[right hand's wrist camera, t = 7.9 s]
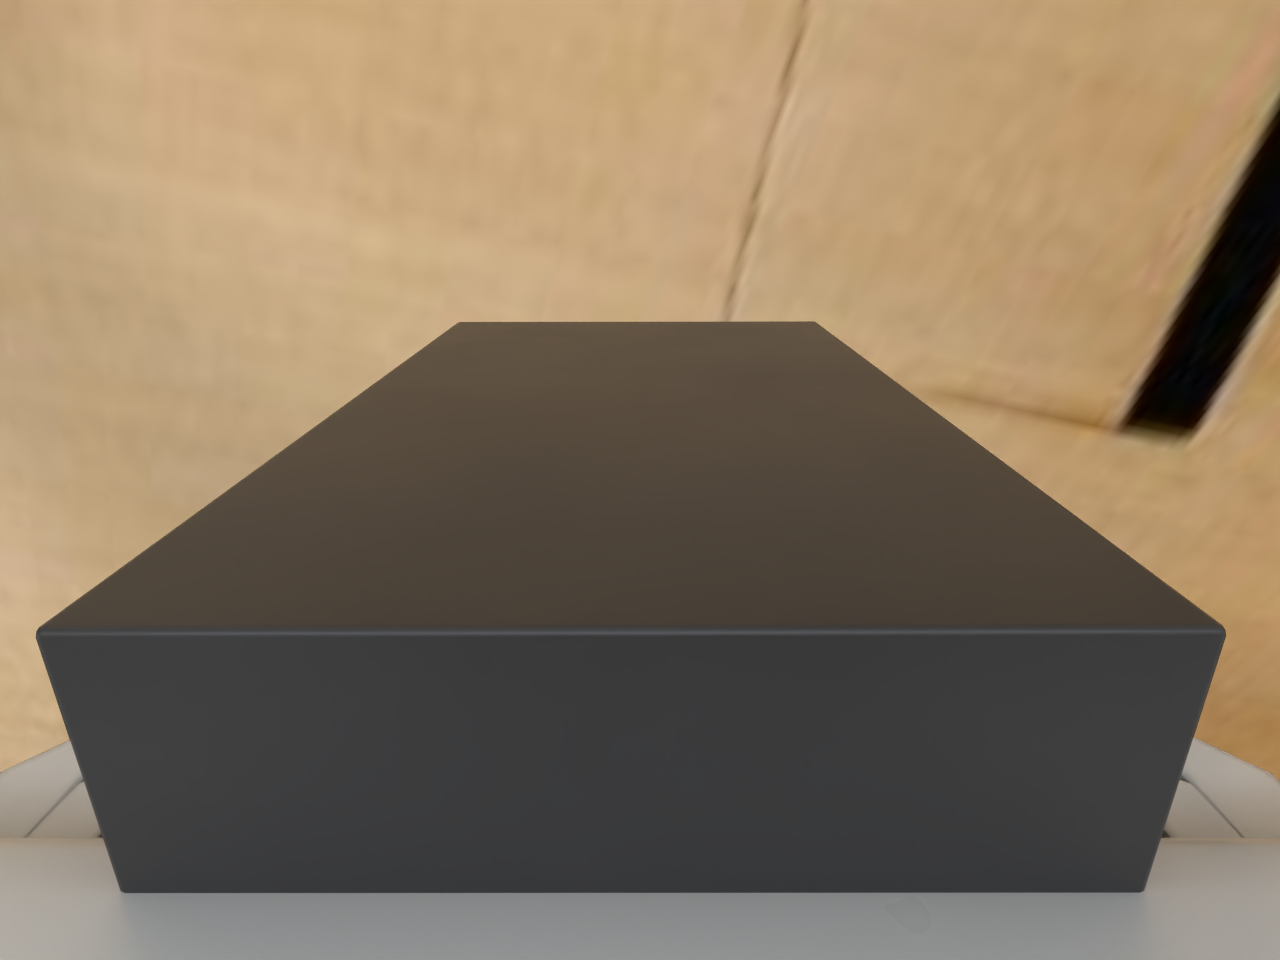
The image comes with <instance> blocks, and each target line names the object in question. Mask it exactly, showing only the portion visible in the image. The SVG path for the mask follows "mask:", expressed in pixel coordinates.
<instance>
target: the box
mask: <svg viewBox="0 0 1280 960" xmlns="http://www.w3.org/2000/svg"><path fill="white" fill-rule="evenodd" d="M1225 637H1226V632H1225V629H1224V627H1223V626H1222V625H1221V624H1220V623H1218V622H1217V621H1216V620H1214V619H1213V618H1212V617H1210V616H1209V615H1208V614H1206V613H1205V612H1204V611H1202V610H1201V609H1200V608H1198V607H1197V606H1196V605H1194V604H1193V603H1192V602H1190V601H1189V600H1188V599H1186V598H1185V597H1184V596H1182V595H1181V594H1180V593H1178V592H1177V591H1175V590H1174V589H1173V588H1171V587H1170V586H1169V585H1167V584H1166V583H1165V582H1163V581H1162V580H1161V579H1159V578H1158V577H1157V576H1155V575H1154V574H1153V573H1151V572H1150V571H1149V570H1147V569H1146V568H1145V567H1143V566H1142V565H1141V564H1139V563H1138V562H1137V561H1135V560H1134V559H1133V558H1131V557H1130V556H1129V555H1127V554H1126V553H1125V552H1123V551H1122V550H1120V549H1119V548H1118V547H1116V546H1115V545H1114V544H1112V543H1111V542H1110V541H1108V540H1107V539H1106V538H1104V537H1103V536H1102V535H1100V534H1099V533H1098V532H1096V531H1095V530H1094V529H1092V528H1091V527H1090V526H1088V525H1087V524H1086V523H1084V522H1083V521H1082V520H1080V519H1079V518H1078V517H1076V516H1075V515H1074V514H1072V513H1071V512H1070V511H1068V510H1067V509H1066V508H1064V507H1063V506H1061V505H1060V504H1059V503H1057V502H1056V501H1055V500H1053V499H1052V498H1051V497H1049V496H1048V495H1047V494H1045V493H1044V492H1043V491H1041V490H1040V489H1039V488H1037V487H1036V486H1035V485H1033V484H1032V483H1031V482H1029V481H1028V480H1027V479H1025V478H1024V477H1023V476H1021V475H1020V474H1019V473H1017V472H1016V471H1015V470H1013V469H1012V468H1011V467H1009V466H1008V465H1007V464H1005V463H1004V462H1002V461H1001V460H1000V459H998V458H997V457H996V456H994V455H993V454H992V453H990V452H989V451H988V450H986V449H985V448H984V447H982V446H981V445H980V444H978V443H977V442H976V441H974V440H973V439H972V438H970V437H969V436H968V435H966V434H965V433H964V432H962V431H961V430H960V429H958V428H957V427H956V426H954V425H953V424H952V423H950V422H949V421H947V420H946V419H945V418H943V417H942V416H941V415H939V414H938V413H937V412H935V411H934V410H933V409H931V408H930V407H929V406H927V405H926V404H925V403H923V402H922V401H921V400H919V399H918V398H917V397H915V396H914V395H913V394H911V393H910V392H909V391H907V390H906V389H905V388H903V387H902V386H901V385H899V384H898V383H897V382H895V381H894V380H893V379H891V378H890V377H888V376H887V375H886V374H884V373H883V372H882V371H880V370H879V369H878V368H876V367H875V366H874V365H872V364H871V363H870V362H868V361H867V360H866V359H864V358H863V357H862V356H860V355H859V354H858V353H856V352H855V351H854V350H852V349H851V348H850V347H848V346H847V345H846V344H844V343H843V342H842V341H840V340H839V339H838V338H836V337H835V336H833V335H832V334H831V333H829V332H828V331H827V330H825V329H824V328H823V327H821V326H820V325H819V324H817V323H816V322H459V323H457V324H456V325H454V326H453V327H452V328H450V329H449V330H448V331H446V332H445V333H443V334H442V335H441V336H439V337H438V338H437V339H435V340H434V341H432V342H431V343H430V344H428V345H427V346H426V347H424V348H423V349H421V350H420V351H419V352H417V353H416V354H415V355H413V356H412V357H410V358H409V359H408V360H406V361H405V362H404V363H402V364H401V365H399V366H398V367H397V368H395V369H394V370H393V371H391V372H390V373H388V374H387V375H386V376H384V377H383V378H382V379H380V380H379V381H377V382H376V383H375V384H373V385H372V386H371V387H369V388H368V389H366V390H365V391H364V392H362V393H361V394H360V395H358V396H357V397H355V398H354V399H353V400H351V401H350V402H349V403H347V404H346V405H344V406H343V407H342V408H340V409H339V410H338V411H336V412H335V413H333V414H332V415H331V416H329V417H328V418H327V419H325V420H324V421H322V422H321V423H320V424H318V425H317V426H316V427H314V428H313V429H311V430H310V431H309V432H307V433H306V434H305V435H303V436H302V437H300V438H299V439H298V440H296V441H295V442H294V443H292V444H291V445H289V446H288V447H287V448H285V449H284V450H283V451H281V452H280V453H278V454H277V455H276V456H274V457H273V458H272V459H270V460H269V461H267V462H266V463H265V464H263V465H262V466H260V467H259V468H258V469H256V470H255V471H254V472H252V473H251V474H249V475H248V476H247V477H245V478H244V479H243V480H241V481H240V482H238V483H237V484H236V485H234V486H233V487H232V488H230V489H229V490H227V491H226V492H225V493H223V494H222V495H221V496H219V497H218V498H216V499H215V500H214V501H212V502H211V503H210V504H208V505H207V506H205V507H204V508H203V509H201V510H200V511H199V512H197V513H196V514H194V515H193V516H192V517H190V518H189V519H188V520H186V521H185V522H183V523H182V524H181V525H179V526H178V527H177V528H175V529H174V530H172V531H171V532H170V533H168V534H167V535H166V536H164V537H163V538H161V539H160V540H159V541H157V542H156V543H155V544H153V545H152V546H150V547H149V548H148V549H146V550H145V551H144V552H142V553H141V554H139V555H138V556H137V557H135V558H134V559H133V560H131V561H130V562H128V563H127V564H126V565H124V566H123V567H122V568H120V569H119V570H117V571H116V572H115V573H113V574H112V575H111V576H109V577H108V578H106V579H105V580H104V581H102V582H101V583H100V584H98V585H97V586H95V587H94V588H93V589H91V590H90V591H89V592H87V593H86V594H84V595H83V596H82V597H80V598H79V599H78V600H76V601H75V602H73V603H72V604H71V605H69V606H68V607H67V608H65V609H64V610H62V611H61V612H60V613H58V614H57V615H56V616H54V617H53V618H51V619H50V620H49V621H47V622H46V623H45V624H43V625H42V626H40V627H39V628H38V630H37V632H36V640H37V643H38V646H39V649H40V652H41V655H42V657H43V660H44V663H45V666H46V669H47V672H48V675H49V678H50V681H51V684H52V687H53V690H54V693H55V696H56V699H57V702H58V705H59V708H60V711H61V714H62V717H63V720H64V723H65V726H66V729H67V732H68V735H69V738H70V741H71V744H72V747H73V750H74V753H75V756H76V759H77V762H78V765H79V768H80V771H81V774H82V777H83V780H84V783H85V786H86V789H87V792H88V795H89V798H90V801H91V804H92V807H93V810H94V813H95V816H96V819H97V822H98V825H99V828H100V831H101V834H102V837H103V840H104V843H105V846H106V849H107V852H108V855H109V858H110V861H111V864H112V867H113V870H114V873H115V876H116V879H117V882H118V885H119V888H120V891H121V892H124V893H1140V892H1142V891H1144V890H1145V887H1146V883H1147V880H1148V877H1149V874H1150V871H1151V868H1152V865H1153V862H1154V859H1155V855H1156V852H1157V849H1158V846H1159V843H1160V840H1161V837H1162V834H1163V830H1164V827H1165V824H1166V821H1167V818H1168V815H1169V812H1170V809H1171V806H1172V802H1173V799H1174V796H1175V793H1176V790H1177V787H1178V784H1179V781H1180V777H1181V774H1182V771H1183V768H1184V765H1185V762H1186V759H1187V756H1188V753H1189V749H1190V746H1191V743H1192V740H1193V737H1194V734H1195V731H1196V728H1197V724H1198V721H1199V718H1200V715H1201V712H1202V709H1203V706H1204V703H1205V700H1206V696H1207V693H1208V690H1209V687H1210V684H1211V681H1212V678H1213V675H1214V671H1215V668H1216V665H1217V662H1218V659H1219V656H1220V653H1221V650H1222V647H1223V643H1224V640H1225Z"/></svg>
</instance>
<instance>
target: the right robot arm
mask: <svg viewBox="0 0 1280 960" xmlns="http://www.w3.org/2000/svg"><path fill="white" fill-rule="evenodd" d="M0 960H1280V781H1279V780H1278V779H1277V778H1276V777H1275V776H1274V775H1272V774H1271V773H1269V772H1267V771H1265V770H1263V769H1261V768H1259V767H1256V766H1254V765H1252V764H1250V763H1248V762H1246V761H1244V760H1242V759H1239V758H1237V757H1235V756H1233V755H1231V754H1229V753H1227V752H1225V751H1223V750H1220V749H1218V748H1216V747H1214V746H1212V745H1210V744H1208V743H1206V742H1203V741H1201V740H1199V739H1197V738H1195V737H1193V740H1192V743H1191V746H1190V749H1189V753H1188V756H1187V759H1186V762H1185V765H1184V768H1183V771H1182V774H1181V777H1180V781H1179V784H1178V787H1177V790H1176V793H1175V796H1174V799H1173V802H1172V806H1171V809H1170V812H1169V815H1168V818H1167V821H1166V824H1165V827H1164V830H1163V834H1162V837H1161V840H1160V843H1159V846H1158V849H1157V852H1156V855H1155V859H1154V862H1153V865H1152V868H1151V871H1150V874H1149V877H1148V880H1147V883H1146V887H1145V890H1144V891H1142V892H1140V893H124V892H121V891H120V888H119V885H118V882H117V879H116V876H115V873H114V870H113V867H112V864H111V861H110V858H109V855H108V852H107V849H106V846H105V843H104V840H103V837H102V834H101V831H100V828H99V825H98V822H97V819H96V816H95V813H94V810H93V807H92V804H91V801H90V798H89V795H88V792H87V789H86V786H85V783H84V780H83V777H82V774H81V771H80V768H79V765H78V762H77V759H76V756H75V753H74V750H73V747H72V744H71V741H70V740H69V741H66V742H64V743H62V744H60V745H58V746H56V747H54V748H51V749H49V750H47V751H45V752H43V753H41V754H39V755H36V756H34V757H32V758H30V759H28V760H26V761H23V762H21V763H19V764H17V765H15V766H13V767H11V768H8V769H6V770H4V771H2V772H0Z"/></svg>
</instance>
